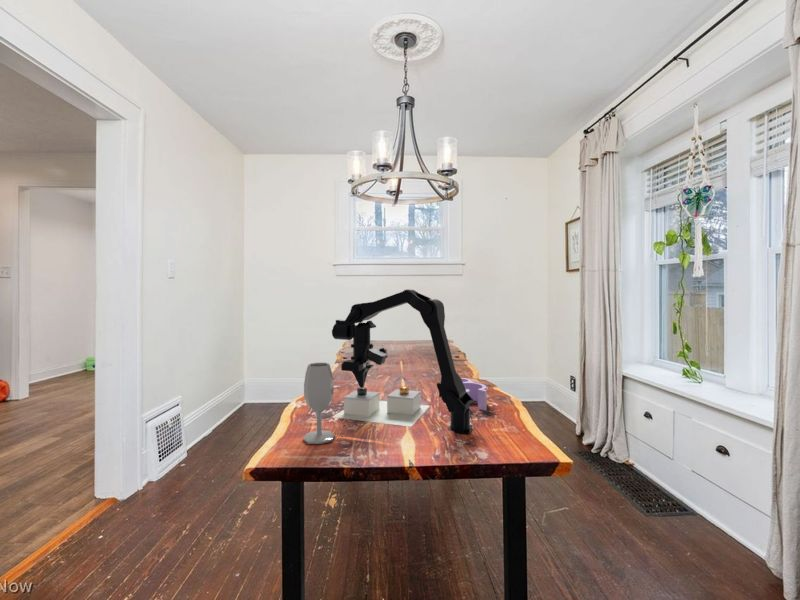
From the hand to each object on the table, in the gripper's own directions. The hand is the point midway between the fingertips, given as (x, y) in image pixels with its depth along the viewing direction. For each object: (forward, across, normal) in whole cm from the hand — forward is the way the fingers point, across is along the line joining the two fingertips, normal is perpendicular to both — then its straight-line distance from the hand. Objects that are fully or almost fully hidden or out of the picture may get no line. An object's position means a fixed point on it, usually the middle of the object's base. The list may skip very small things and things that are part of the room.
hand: (361, 387), depth 129 cm
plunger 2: (+8, +6, -13) cm, 17 cm away
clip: (+9, +24, -31) cm, 41 cm away
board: (+9, +3, -7) cm, 12 cm away
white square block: (+8, 0, 0) cm, 8 cm away
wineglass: (+9, -24, +2) cm, 26 cm away
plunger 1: (+8, 0, 0) cm, 8 cm away
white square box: (+8, +6, -13) cm, 17 cm away
